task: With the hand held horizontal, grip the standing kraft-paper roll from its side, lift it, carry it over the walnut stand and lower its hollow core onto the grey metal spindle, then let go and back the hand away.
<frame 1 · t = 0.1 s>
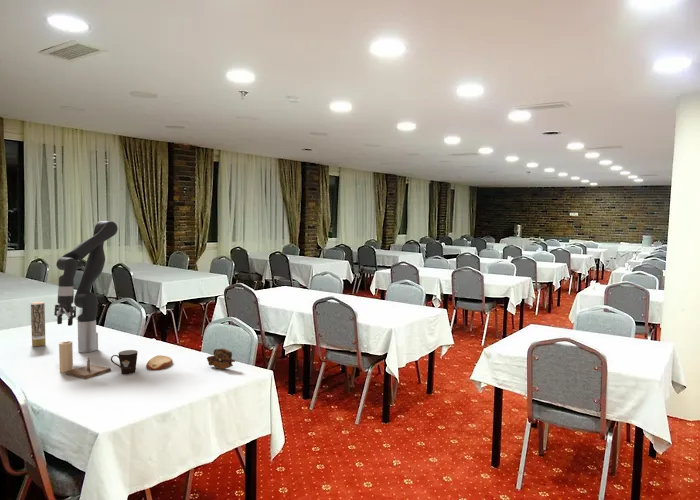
hand: (64, 324, 276), 17 cm above the table, tool pointing down, fingers open, 8 cm apart
wooden carving: (220, 369, 259), on the table
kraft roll: (66, 370, 252), on the table
pita bread: (158, 365, 265), on the table
coffee mug: (125, 372, 251), on the table
stand: (88, 372, 249), on the table
paper tube: (38, 345, 300), on the table
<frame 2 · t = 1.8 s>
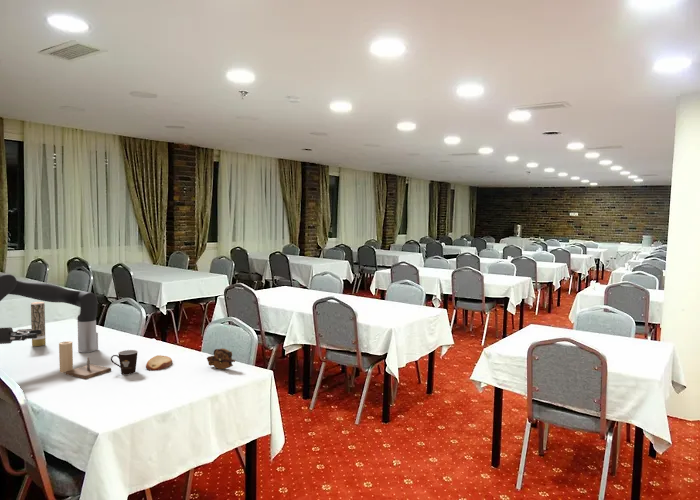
hand: (39, 333, 247), 19 cm above the table, tool horizontal, fingers open, 8 cm apart
nothing on the table moved.
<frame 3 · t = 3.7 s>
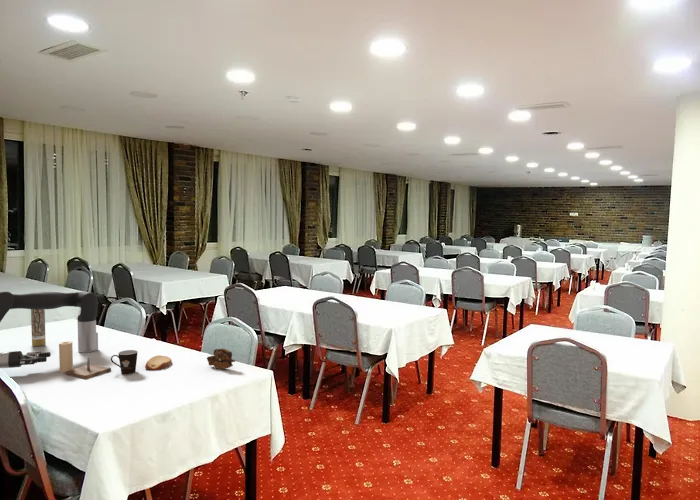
hand: (48, 356, 249), 8 cm above the table, tool horizontal, fingers open, 8 cm apart
nothing on the table moved.
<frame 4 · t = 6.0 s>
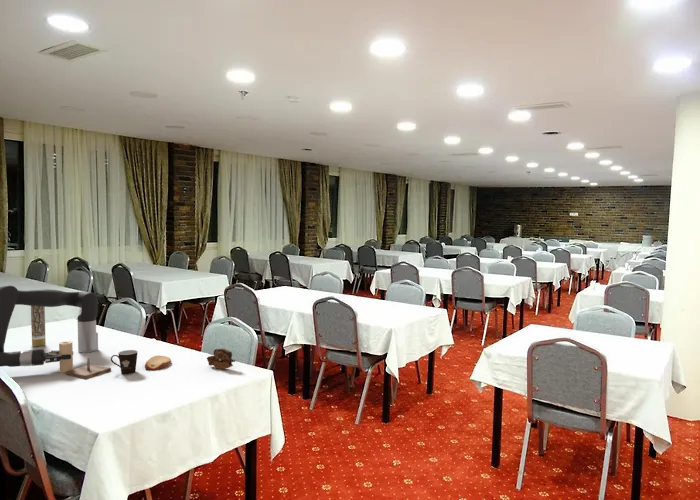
hand: (71, 355, 252), 8 cm above the table, tool horizontal, fingers closed on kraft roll, 5 cm apart
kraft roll: (66, 370, 252), on the table, touching gripper
everything else where it was.
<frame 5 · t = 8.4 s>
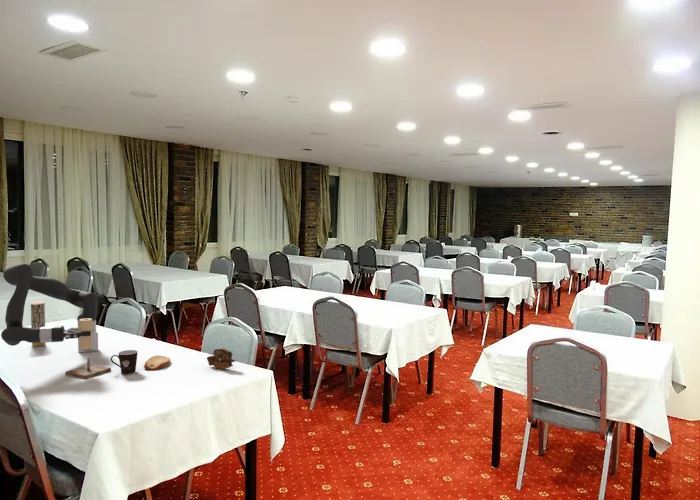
hand: (91, 332, 249), 20 cm above the table, tool horizontal, fingers closed on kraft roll, 5 cm apart
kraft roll: (86, 348, 248), point 12 cm above the table, touching gripper
when the fingers open (11 cm above the table, at t = 11.2 s): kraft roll drops 1 cm, resting on stand.
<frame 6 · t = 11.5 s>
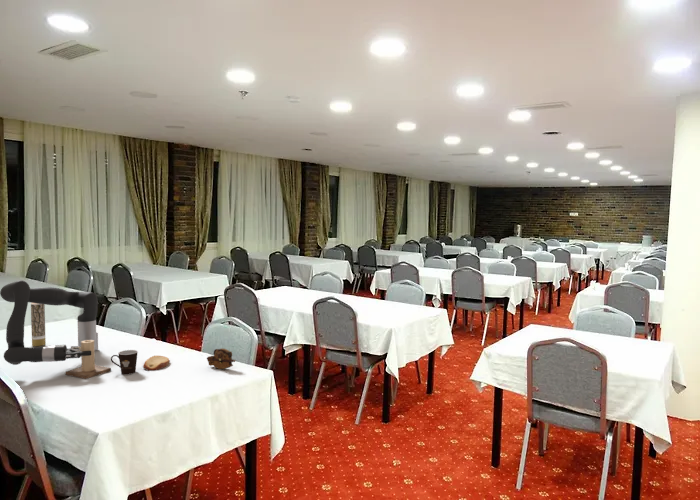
hand: (92, 350, 249), 11 cm above the table, tool horizontal, fingers open, 8 cm apart
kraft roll: (88, 369, 249), point 1 cm above the table, touching stand
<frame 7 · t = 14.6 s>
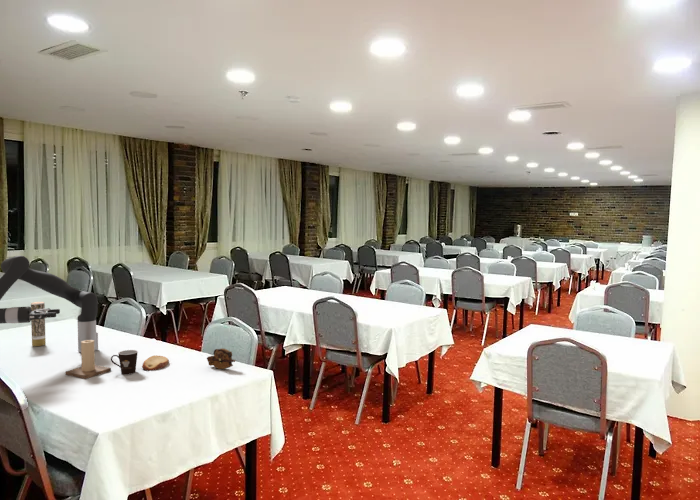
hand: (57, 312, 245), 30 cm above the table, tool horizontal, fingers open, 8 cm apart
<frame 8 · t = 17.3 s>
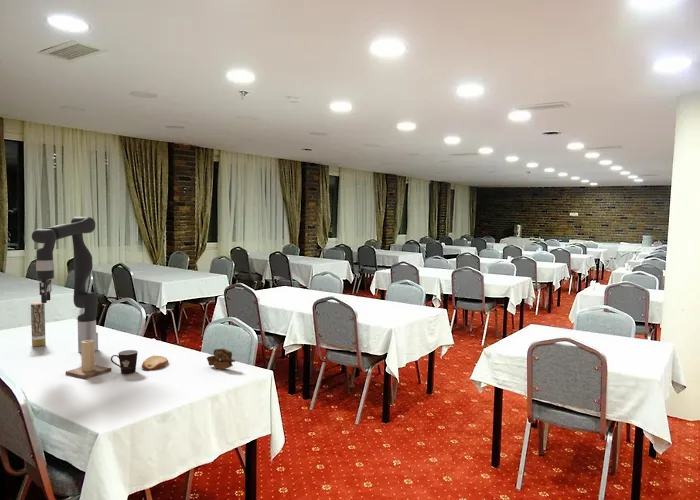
hand: (46, 301, 256), 33 cm above the table, tool pointing down, fingers open, 8 cm apart
at the end: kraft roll 0.1 cm off-centre on the stand, point 1.5 cm above the stand's base; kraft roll tilted 0°; the gripper is holding nothing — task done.
